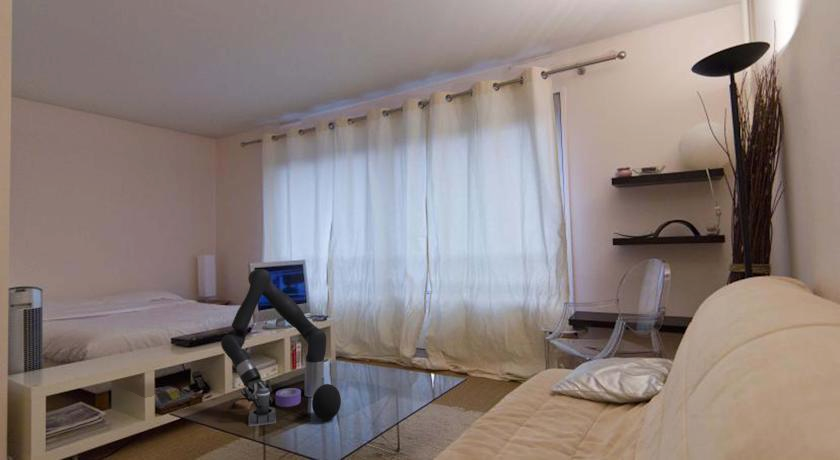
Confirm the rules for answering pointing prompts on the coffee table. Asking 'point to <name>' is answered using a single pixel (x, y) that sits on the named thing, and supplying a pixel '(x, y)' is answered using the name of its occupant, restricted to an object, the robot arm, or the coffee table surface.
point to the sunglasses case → (242, 403)
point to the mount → (262, 418)
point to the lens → (263, 401)
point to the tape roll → (288, 397)
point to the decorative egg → (326, 402)
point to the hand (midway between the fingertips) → (265, 405)
